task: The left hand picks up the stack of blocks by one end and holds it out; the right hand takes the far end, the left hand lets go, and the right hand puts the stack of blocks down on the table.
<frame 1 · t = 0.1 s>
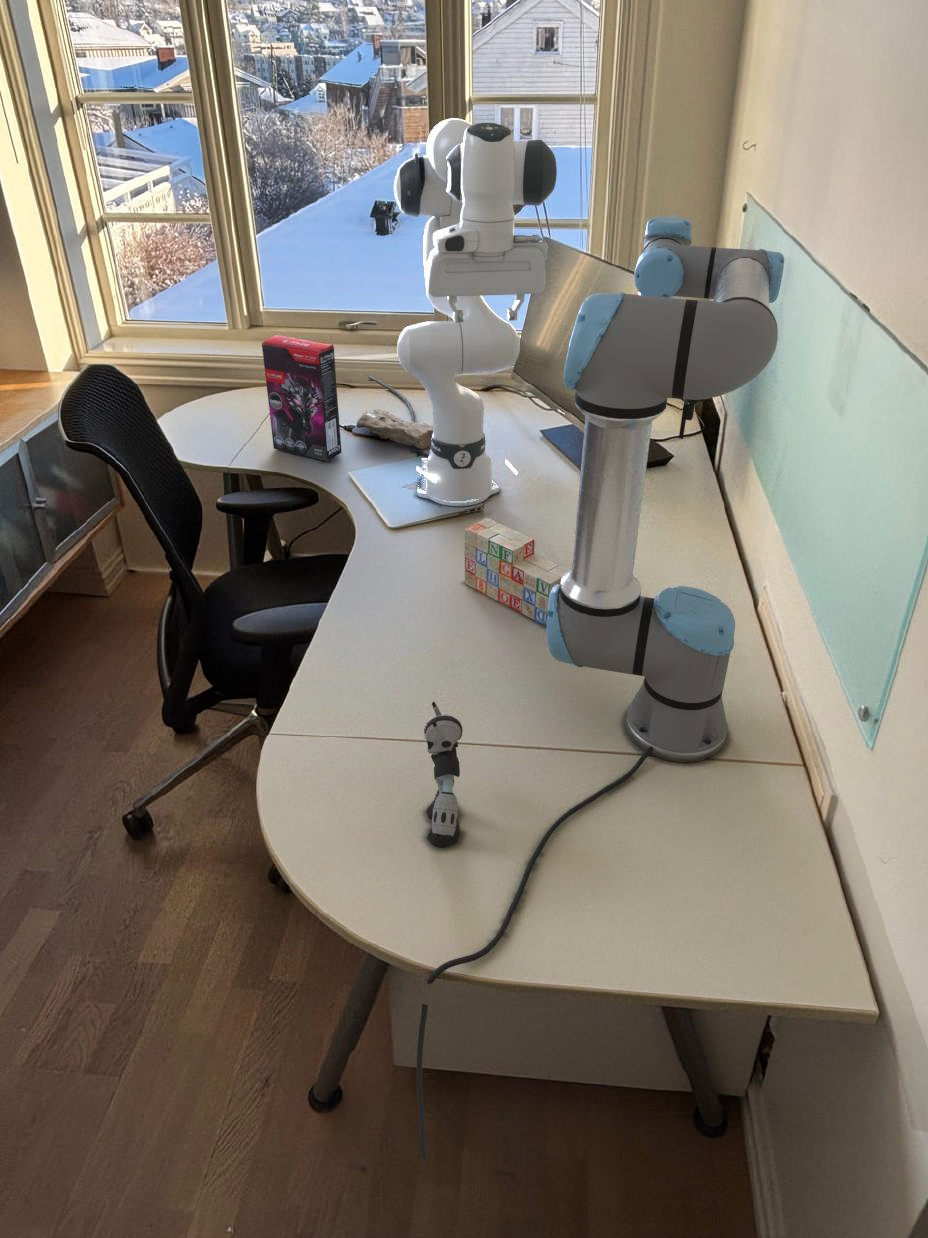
left hand: (485, 320, 160), 48 cm above the table, tool pointing down, fingers open, 8 cm apart
right hand: (643, 431, 170), 28 cm above the table, tool pointing down, fingers open, 13 cm apart
stone: (394, 439, 237), on the table
robot: (443, 825, 126), on the table
stack of blocks: (514, 598, 174), on the table
graphics card box: (307, 452, 230), on the table
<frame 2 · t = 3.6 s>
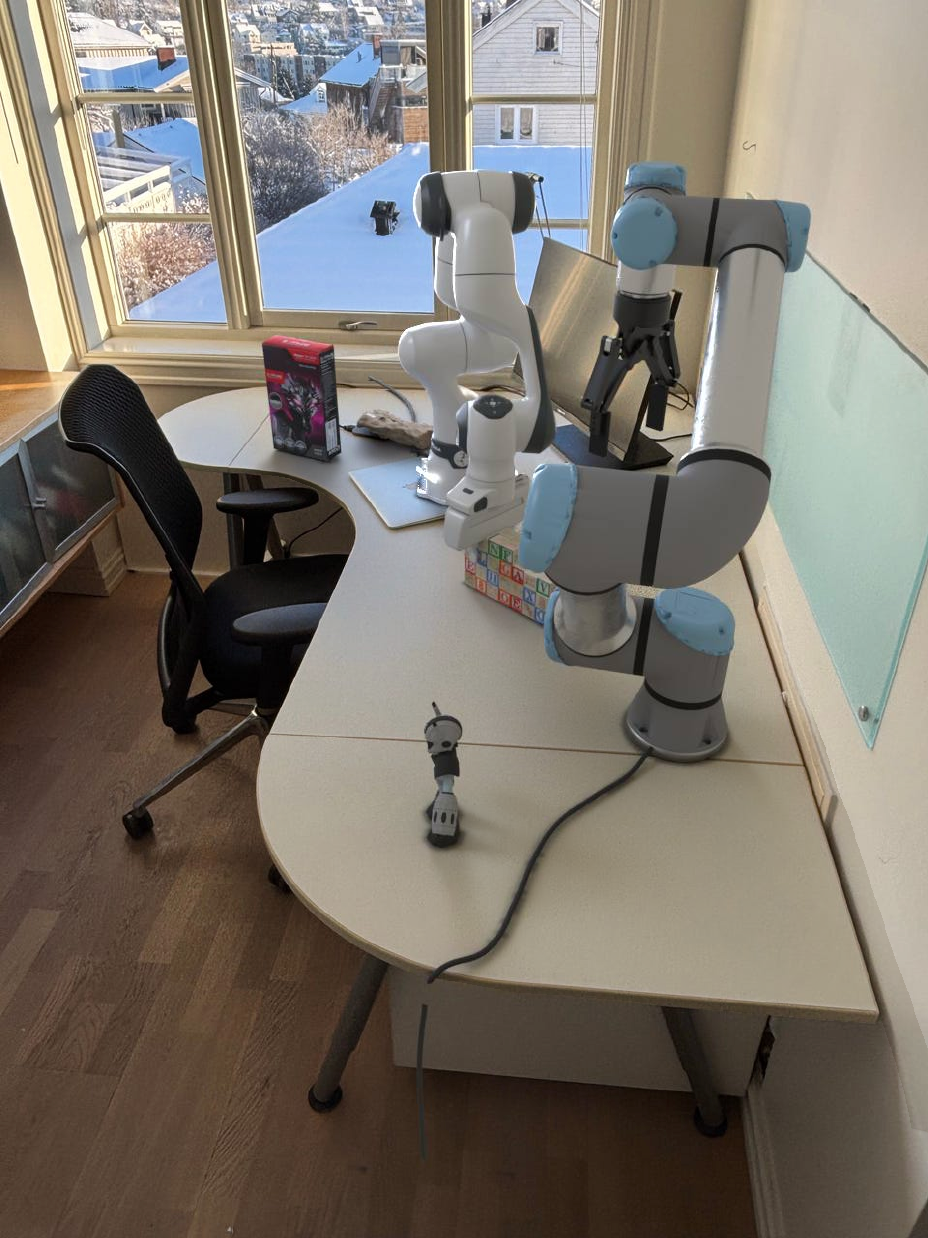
left hand: (488, 553, 175), 7 cm above the table, tool pointing down, fingers closed on stack of blocks, 6 cm apart
right hand: (626, 441, 135), 41 cm above the table, tool pointing down, fingers open, 13 cm apart
stack of blocks: (514, 598, 174), on the table, touching left hand
everything else where it was.
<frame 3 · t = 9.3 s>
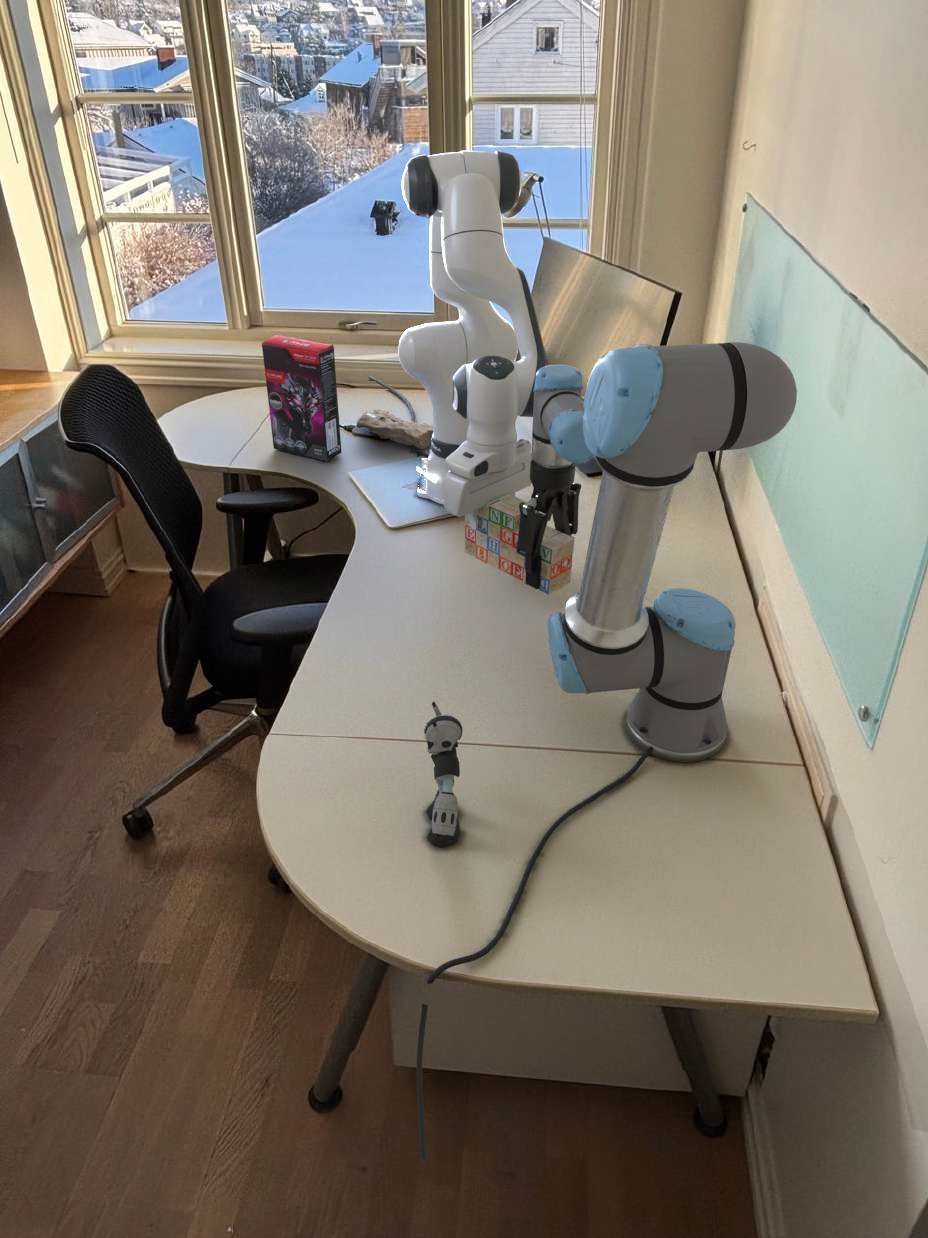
left hand: (489, 520, 171), 14 cm above the table, tool pointing down, fingers closed on stack of blocks, 6 cm apart
right hand: (545, 578, 166), 8 cm above the table, tool pointing down, fingers closed on stack of blocks, 6 cm apart
stack of blocks: (516, 567, 171), point 7 cm above the table, touching right hand, left hand
everything else where it was.
when the left hand's fingers open (14 cm above the table, at t = 10.3 s): stack of blocks moves 2 cm, held by the right hand.
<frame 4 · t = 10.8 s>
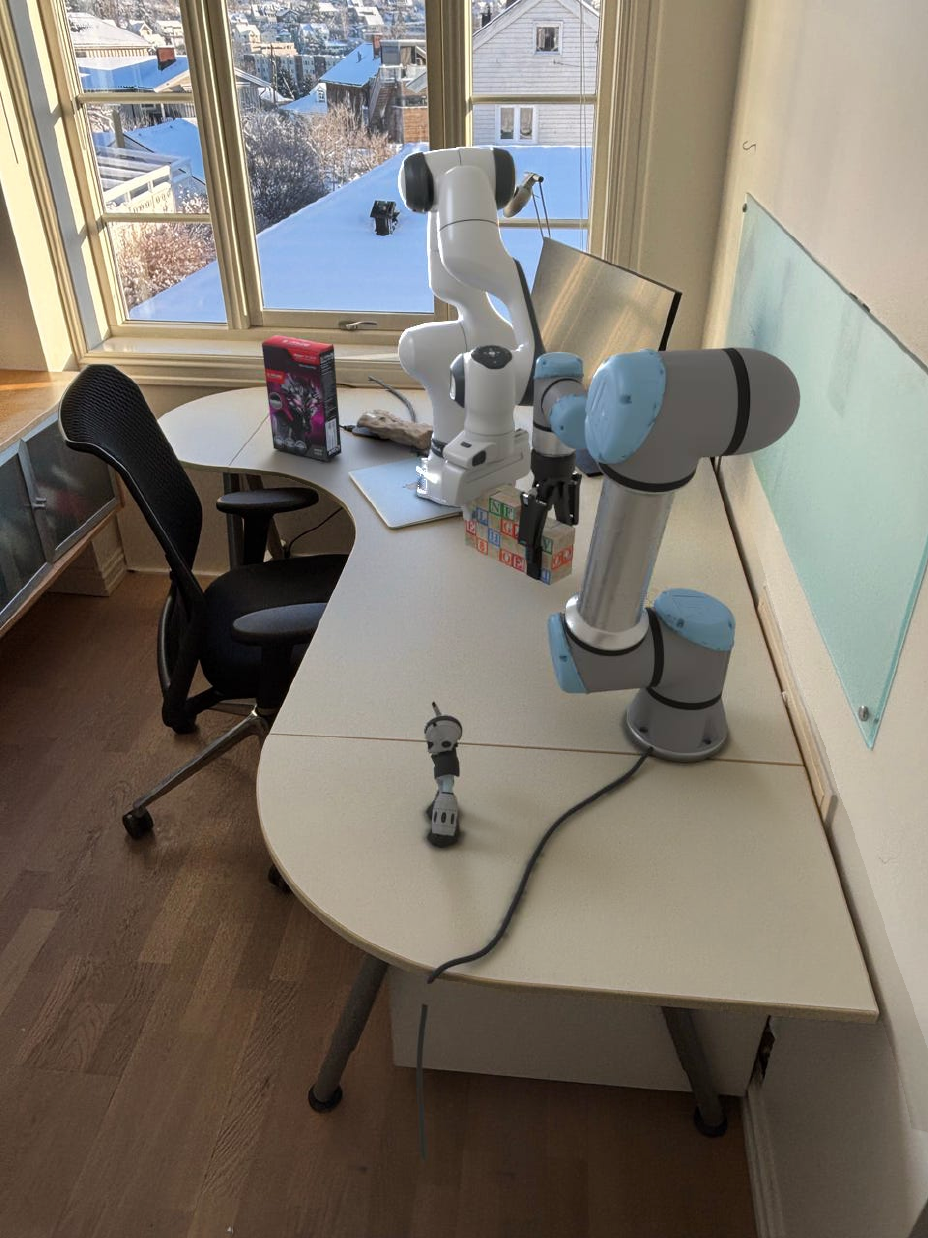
left hand: (487, 510, 171), 16 cm above the table, tool pointing down, fingers open, 8 cm apart
right hand: (546, 570, 165), 10 cm above the table, tool pointing down, fingers closed on stack of blocks, 6 cm apart
stack of blocks: (516, 559, 169), point 9 cm above the table, touching right hand
everything else where it was.
when the right hand's fingers open (2 cm above the table, at t = 14.9 s): stack of blocks drops 1 cm, on the table.
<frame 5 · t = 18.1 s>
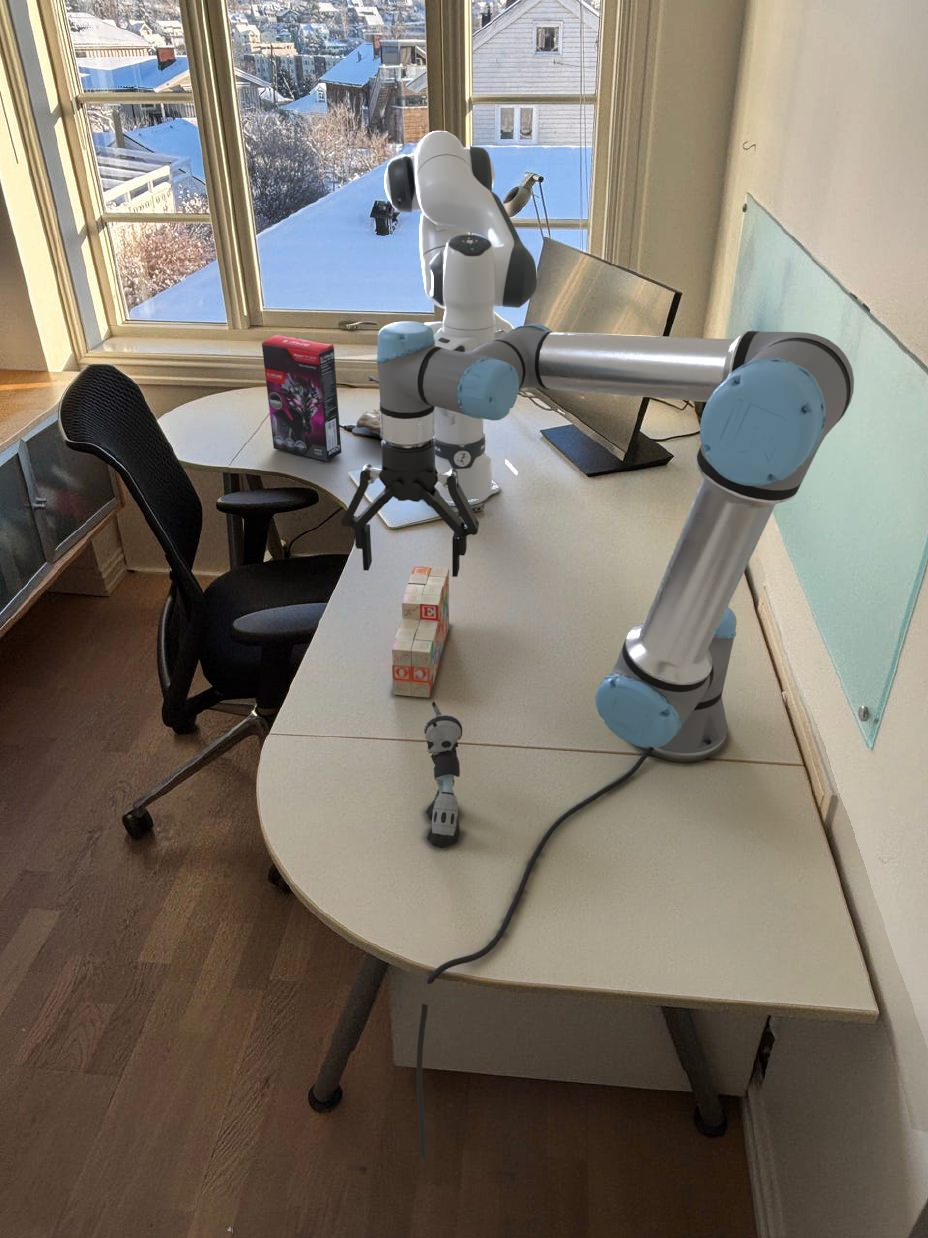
left hand: (468, 417, 164), 32 cm above the table, tool pointing down, fingers open, 8 cm apart
right hand: (411, 569, 140), 22 cm above the table, tool pointing down, fingers open, 13 cm apart
stack of blocks: (422, 658, 158), on the table
everything else where it was.
at the end: stack of blocks inside the target area (7.0 cm from its centre), on the table; the left hand is holding nothing; the right hand is holding nothing; stack of blocks at rest at the end (0.0 cm/s) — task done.
